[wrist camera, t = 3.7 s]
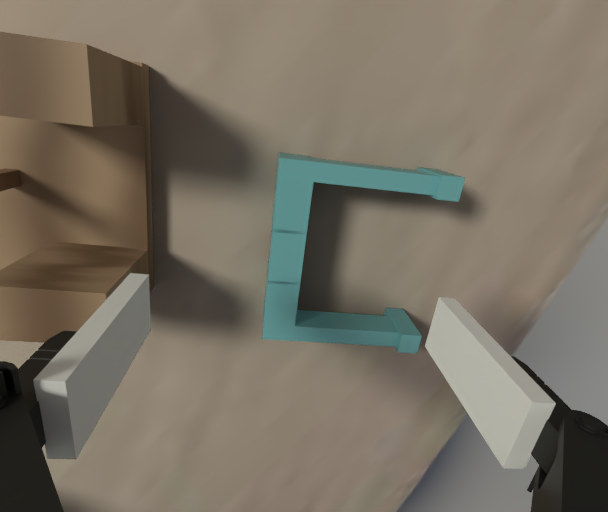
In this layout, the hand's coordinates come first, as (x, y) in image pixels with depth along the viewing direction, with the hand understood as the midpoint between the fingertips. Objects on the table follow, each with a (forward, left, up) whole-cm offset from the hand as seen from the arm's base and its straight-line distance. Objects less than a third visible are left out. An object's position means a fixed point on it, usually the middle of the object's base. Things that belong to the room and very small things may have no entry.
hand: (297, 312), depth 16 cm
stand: (+3, +15, -11) cm, 19 cm away
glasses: (0, -4, -11) cm, 12 cm away
